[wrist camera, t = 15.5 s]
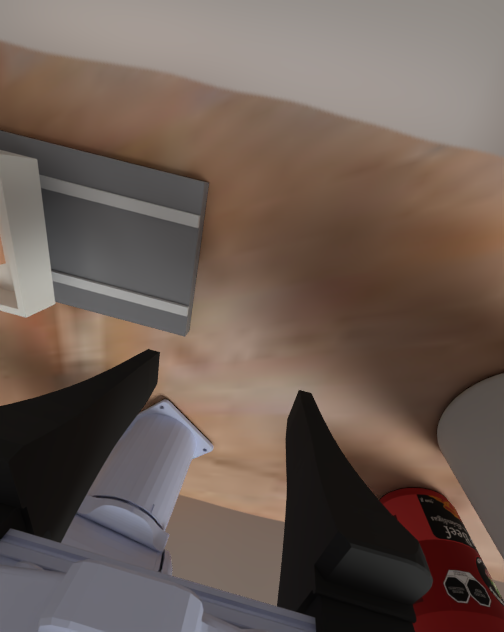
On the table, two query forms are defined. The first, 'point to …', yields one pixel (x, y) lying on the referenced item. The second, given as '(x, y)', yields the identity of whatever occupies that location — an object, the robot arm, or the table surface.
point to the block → (2, 254)
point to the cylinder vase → (478, 450)
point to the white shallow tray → (23, 238)
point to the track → (119, 234)
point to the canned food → (447, 566)
